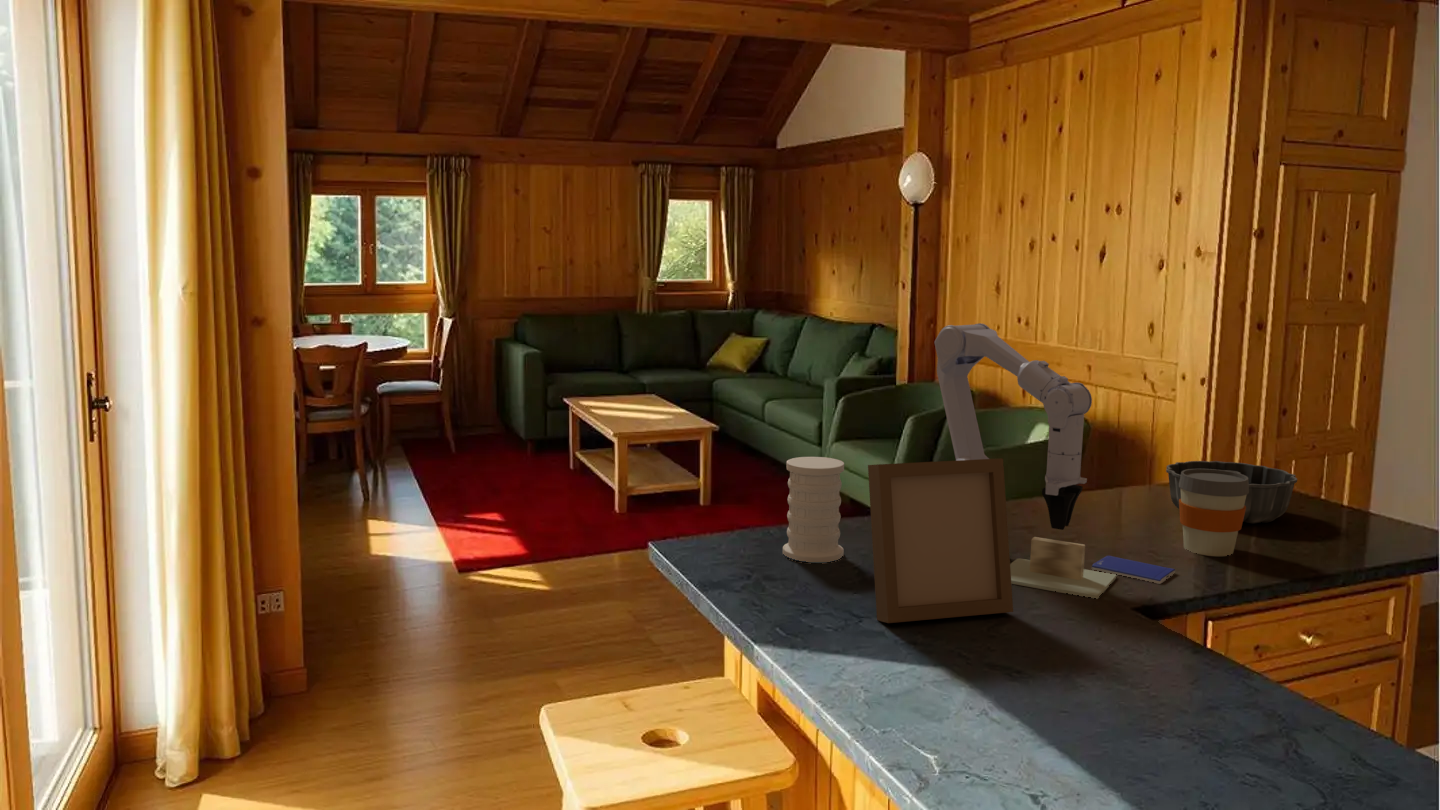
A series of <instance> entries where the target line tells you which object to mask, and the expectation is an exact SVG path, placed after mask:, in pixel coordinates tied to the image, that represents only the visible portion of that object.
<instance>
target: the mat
mask: <svg viewBox="0 0 1440 810" xmlns="http://www.w3.org/2000/svg"><path fill="white" fill-rule="evenodd" d="M1010 570H1011V585H1018V586H1024V587H1028V588H1034V589H1039V590H1045V591H1050V592H1055V591H1056V593H1061V594H1066V593H1068V595H1072V594H1073V596H1077V595H1079V597H1083V596H1085V598H1088V597H1091V598H1090V599H1094V598H1096V599H1095V600H1098V599H1099V598H1100V597H1101V596H1102V595H1103V594H1104V593H1105V592H1106V590H1107V589H1108V588H1109V587H1110V586H1111V585H1112V583H1114V582H1115V580H1116V579H1117V578H1116V577H1117V576H1118V575H1116V574H1110V573H1104V572H1099V571H1094V570H1091V569H1086V568H1084V572H1083V578H1082V579H1081V580H1076V579H1070V578H1065V577H1059V576H1053V575H1047V574H1041V573H1036V572H1030V559H1025V558H1019V557H1018V558H1016V559H1015V560H1014V561H1012V562H1010ZM1110 584H1111V585H1110ZM1109 585H1110V586H1109ZM1102 593H1103V594H1102ZM1101 594H1102V595H1101ZM1100 595H1101V596H1100ZM1099 596H1100V597H1099Z"/></svg>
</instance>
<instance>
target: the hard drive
mask: <svg viewBox="0 0 1440 810" xmlns="http://www.w3.org/2000/svg"><path fill="white" fill-rule="evenodd" d="M1091 569H1092V571H1094V570H1097V571H1098V572H1099V571H1102V572H1106V573H1112V574H1117V576H1118V575H1122V576H1121V577H1123V576H1127V577H1126V578H1128V577H1131V578H1130V579H1133V578H1137V579H1136V580H1138V579H1140V580H1139V581H1142V580H1145V581H1144V582H1147V581H1149V582H1148V583H1152V582H1154V583H1153V584H1158V585H1161V584H1162V583H1164V582H1165V581H1167V580H1168V579H1170V578H1171V577H1172V576H1174V575H1175V574H1176V568H1172V567H1165V566H1161V565H1156V564H1151V563H1147V562H1146V563H1145V562H1142V561H1137V560H1132V559H1126V558H1121V557H1116V556H1113V555H1106V556H1104V557H1102V558H1100V559H1099V560H1097V561H1096V562H1093V564H1092V565H1091ZM1174 573H1175V574H1174ZM1173 574H1174V575H1173ZM1170 576H1171V577H1170ZM1166 579H1167V580H1166Z"/></svg>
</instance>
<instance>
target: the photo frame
mask: <svg viewBox="0 0 1440 810" xmlns="http://www.w3.org/2000/svg"><path fill="white" fill-rule="evenodd" d="M1004 468H1005V466H1004V458H989V459H979V460H959V461H956V460H943V461H941V460H940V461H923V462H921V461H920V462H899V463H882V464H881V463H880V464H867V473H868V487H869V488H868V489H869V506H870V508H869V509H870V510H869V511H870V521H871V522H870V523H871V540H872V543H871V544H872V558H873V575H874V591H875V593H874V594H875V607H876V609H875V611H876V620H877V621H879V622H881V623H887V624H893V623H895V624H896V623H905V622H915V621H926V620H938V619H948V618H949V619H950V618H951V619H952V618H960V617H973V616H980V615H981V616H982V615H993V614H1005V613H1013V612H1014V606H1013V605H1014V602H1013V589H1012V585H1013V584H1011V570H1010V564H1011V561H1010V560H1011V558H1010V557H1011V555H1010V542H1009V530H1008V529H1009V528H1008V518H1007V517H1008V514H1007V501H1006V499H1007V497H1006V486H1005V485H1006V483H1005V482H1006V481H1005V471H1004V470H1005V469H1004Z"/></svg>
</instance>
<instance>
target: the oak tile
mask: <svg viewBox="0 0 1440 810" xmlns="http://www.w3.org/2000/svg"><path fill="white" fill-rule="evenodd" d="M1085 553H1086V544H1083V543H1077V542H1070V541H1064V540H1057V539H1051V538H1045V537H1038V536H1034V537H1032V538H1031V540H1030V558H1029V560H1030V572H1036V573H1041V574H1047V575H1053V576H1059V577H1065V578H1070V579H1076V580H1081V579H1082V578H1083V572H1084V569H1085V568H1084V567H1085V555H1086V554H1085Z"/></svg>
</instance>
